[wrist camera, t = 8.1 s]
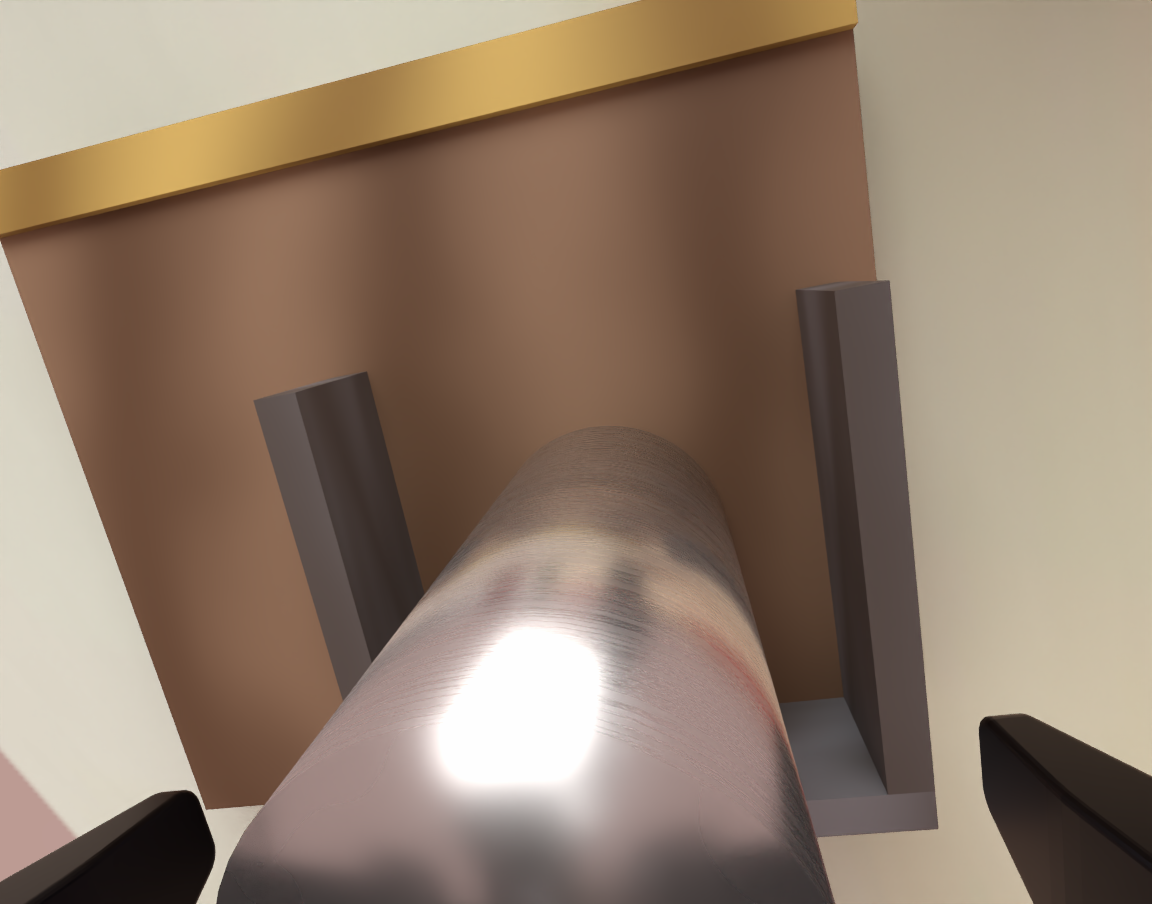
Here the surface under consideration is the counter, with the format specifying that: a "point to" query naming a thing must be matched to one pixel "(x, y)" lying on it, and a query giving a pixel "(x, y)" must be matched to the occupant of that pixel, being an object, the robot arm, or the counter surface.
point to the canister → (557, 717)
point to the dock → (490, 361)
